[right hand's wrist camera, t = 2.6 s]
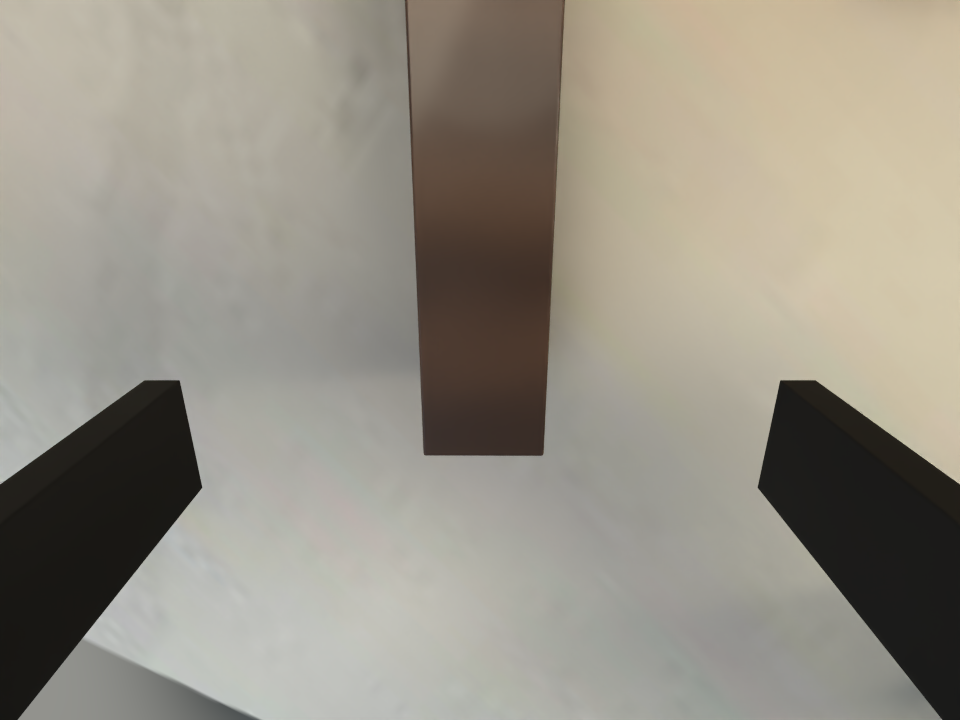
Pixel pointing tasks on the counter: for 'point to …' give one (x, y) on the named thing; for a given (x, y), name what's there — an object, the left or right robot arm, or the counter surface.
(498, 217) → the walnut box
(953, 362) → the counter surface
